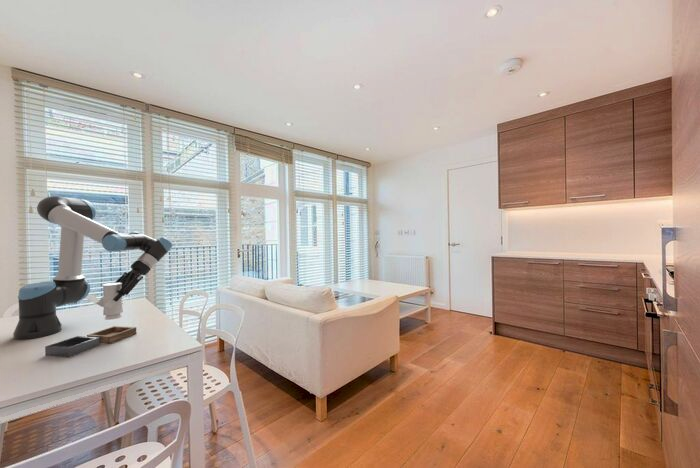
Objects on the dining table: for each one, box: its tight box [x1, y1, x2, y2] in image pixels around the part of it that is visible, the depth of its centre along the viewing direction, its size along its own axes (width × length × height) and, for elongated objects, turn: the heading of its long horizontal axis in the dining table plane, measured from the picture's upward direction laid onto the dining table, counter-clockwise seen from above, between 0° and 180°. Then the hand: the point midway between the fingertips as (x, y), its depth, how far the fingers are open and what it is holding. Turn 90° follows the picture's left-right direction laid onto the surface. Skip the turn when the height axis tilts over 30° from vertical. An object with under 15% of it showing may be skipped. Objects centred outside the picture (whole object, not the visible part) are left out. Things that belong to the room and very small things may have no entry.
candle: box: [101, 282, 124, 321], centre depth 127 cm, size 7×7×15 cm
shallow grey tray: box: [44, 335, 100, 359], centre depth 113 cm, size 11×11×4 cm
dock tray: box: [86, 325, 137, 345], centre depth 127 cm, size 12×12×3 cm
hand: (103, 306), depth 124 cm, fingers closed on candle, 7 cm apart
